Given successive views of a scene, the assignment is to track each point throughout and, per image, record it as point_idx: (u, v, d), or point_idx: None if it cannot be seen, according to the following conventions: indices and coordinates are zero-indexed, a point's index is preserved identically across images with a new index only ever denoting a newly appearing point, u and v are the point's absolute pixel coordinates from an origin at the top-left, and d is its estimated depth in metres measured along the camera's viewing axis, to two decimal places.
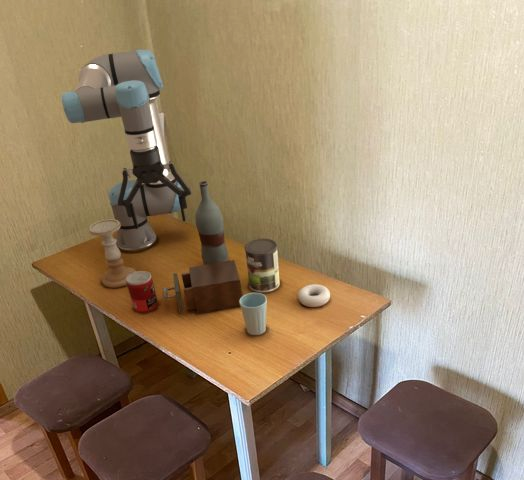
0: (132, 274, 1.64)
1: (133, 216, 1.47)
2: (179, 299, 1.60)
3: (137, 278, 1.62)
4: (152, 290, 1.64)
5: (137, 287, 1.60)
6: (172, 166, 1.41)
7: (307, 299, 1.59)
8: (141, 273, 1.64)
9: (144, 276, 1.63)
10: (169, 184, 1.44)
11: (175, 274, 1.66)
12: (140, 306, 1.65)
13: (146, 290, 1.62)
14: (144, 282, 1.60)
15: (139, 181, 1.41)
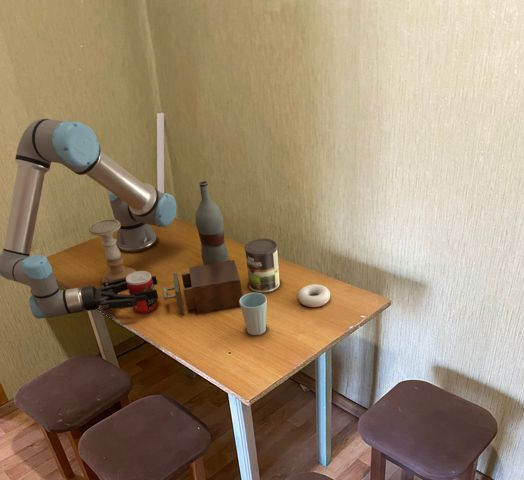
0: (132, 274, 1.64)
1: None
2: (179, 299, 1.60)
3: (137, 278, 1.62)
4: None
5: (137, 287, 1.60)
6: None
7: (307, 299, 1.59)
8: (141, 273, 1.64)
9: (144, 276, 1.63)
10: None
11: (175, 274, 1.66)
12: (140, 306, 1.65)
13: (146, 290, 1.62)
14: (144, 282, 1.60)
15: None
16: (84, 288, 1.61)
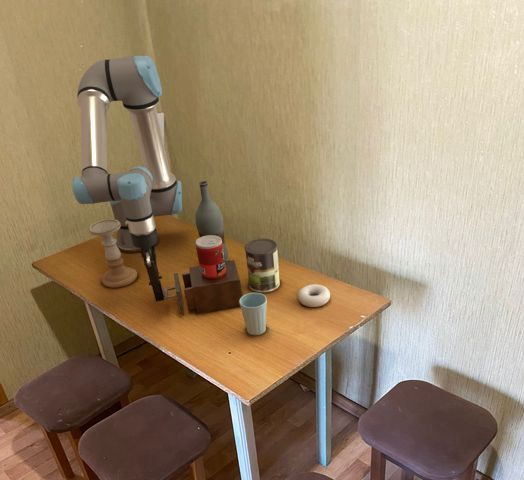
0: (201, 238, 1.58)
1: (153, 289, 1.63)
2: (180, 299, 1.60)
3: (207, 242, 1.56)
4: (222, 255, 1.57)
5: (208, 250, 1.54)
6: (144, 264, 1.51)
7: (307, 299, 1.59)
8: (210, 237, 1.58)
9: (214, 240, 1.57)
10: None
11: (176, 274, 1.66)
12: (209, 272, 1.58)
13: (217, 254, 1.55)
14: (215, 246, 1.54)
15: None
16: None
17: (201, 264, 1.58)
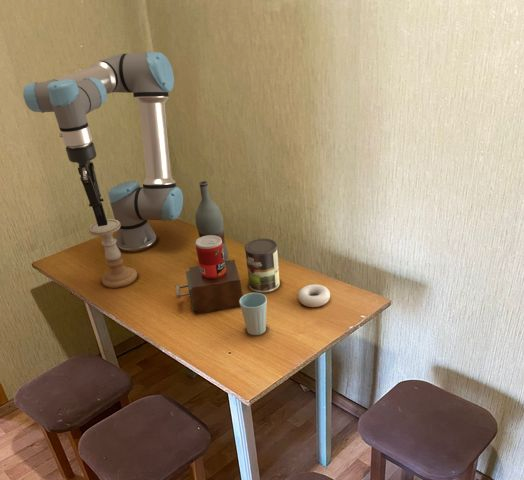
0: (201, 238, 1.58)
1: None
2: (192, 297, 1.60)
3: (207, 242, 1.56)
4: (222, 255, 1.57)
5: (208, 250, 1.54)
6: (81, 180, 1.43)
7: (307, 299, 1.59)
8: (210, 237, 1.58)
9: (214, 240, 1.57)
10: None
11: (188, 272, 1.66)
12: (209, 272, 1.58)
13: (217, 254, 1.55)
14: (215, 246, 1.54)
15: None
16: (94, 147, 1.44)
17: (201, 264, 1.58)
